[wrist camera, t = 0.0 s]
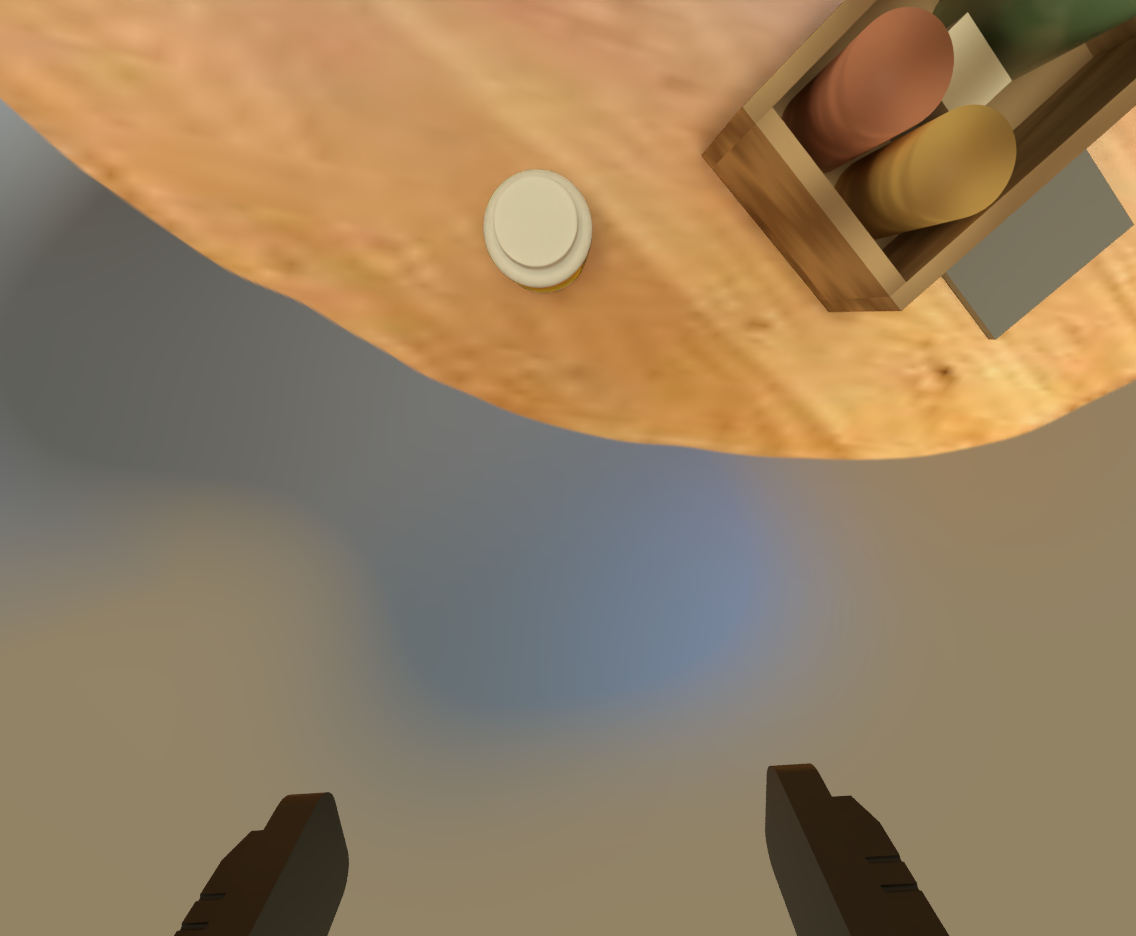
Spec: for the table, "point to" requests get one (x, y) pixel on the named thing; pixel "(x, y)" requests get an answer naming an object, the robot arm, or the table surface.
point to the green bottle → (1036, 26)
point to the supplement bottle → (538, 230)
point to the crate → (908, 145)
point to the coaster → (1038, 247)
